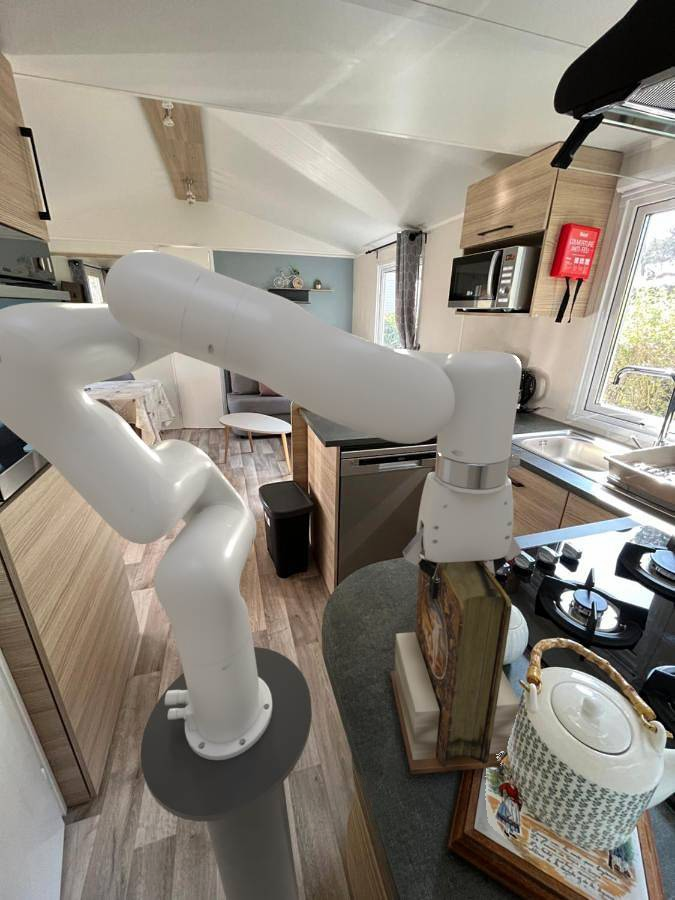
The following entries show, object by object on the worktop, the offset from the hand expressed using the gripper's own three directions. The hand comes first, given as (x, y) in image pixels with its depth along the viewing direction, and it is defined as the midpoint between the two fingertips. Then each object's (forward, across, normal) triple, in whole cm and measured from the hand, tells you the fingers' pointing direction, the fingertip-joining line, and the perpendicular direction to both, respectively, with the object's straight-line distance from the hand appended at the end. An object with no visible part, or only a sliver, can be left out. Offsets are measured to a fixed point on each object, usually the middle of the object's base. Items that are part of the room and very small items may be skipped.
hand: (457, 598), depth 48 cm
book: (+20, 0, 0) cm, 20 cm away
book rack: (+21, 0, 0) cm, 21 cm away
